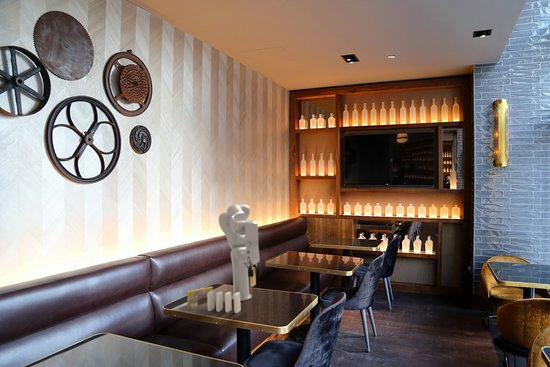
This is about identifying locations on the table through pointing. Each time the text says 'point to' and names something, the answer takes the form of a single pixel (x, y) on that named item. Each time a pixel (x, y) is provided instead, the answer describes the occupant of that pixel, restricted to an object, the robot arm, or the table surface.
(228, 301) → the domino
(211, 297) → the domino
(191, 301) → the end block
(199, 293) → the candy box
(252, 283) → the domino
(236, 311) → the domino
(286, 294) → the table surface
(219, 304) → the domino
